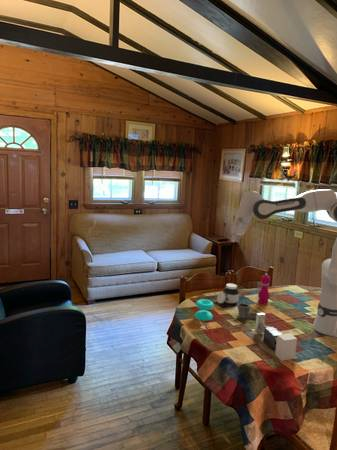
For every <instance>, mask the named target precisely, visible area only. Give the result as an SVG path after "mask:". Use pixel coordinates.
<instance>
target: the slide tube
mask: <svg viewBox="0 0 337 450" xmlns="http://www.w3.org/2000/svg"><path fill="white" fill-rule="evenodd" d="M256 313H257V315H256V319H255V325H254V331H255V332H256V333H262V332H264V329H265V328H267V327H268V326H267V325H266V323H265V321H266V313H264V312H256ZM275 342H276V343H277V337H275Z"/></svg>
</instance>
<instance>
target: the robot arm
mask: <svg viewBox="0 0 337 450" xmlns="http://www.w3.org/2000/svg"><path fill="white" fill-rule="evenodd" d="M290 211H295V212H299V213H314V212H317V211H326V212H327V215H328V216H329V218H331V219H332V220H333V221H334V222H337V194H336V192H335V191H334V190H332V189H328V188H326V189H314V190H308V191H305V192H302V193H301V192H300V194H297V195H294V196H293V197H290V198H285V199H279V200H268V199H265V198H264V197H263V196H261V194H260V192H258V191H256V190H247V191H245V192H244V193H243V195H242V197H241V199H240V202H239V207H238V209H237V210H236V213H235V215H234V222H233V224H232V227H231V229H230V234H232V235H231V239H230V242H232V243H235V242H236V243H239V241H240V239H241V237H242V236H244V235H245V234H246V232H247V230H248V227H249V225H250V224H251V222H252V218H253V216H255V217H256V218H258V219H260V220H266V219H269V218H271V217H272V216H273V215H275V214H279V213H284V212H285V213H286V212H290ZM331 249H332V252H331V258H327V259H325V260H324V261H323V262H322V263H321V275H320V276H321V280H320V282H321V283H320V284H321V286H320V289H321V290H320V297H319V302H318V304H317V312H316V316H315V320H314V321H313V324H312V328H313V329H314V331H316V332H318V333H320V334H323V335H326V336H331V337H334V338H337V237H336V238H335V241H334V242H333V246H332V248H331Z"/></svg>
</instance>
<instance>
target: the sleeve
mask: <svg viewBox="0 0 337 450" xmlns="http://www.w3.org/2000/svg"><path fill="white" fill-rule="evenodd" d="M281 334H283V332H281V331H280V330H279V329H278V328H276V327H274V326H269V327H268V326H267V328H265V329H264V338H263V342H264V343H265V344H266V345H267V346H268V347H269V348H270V349H271V350H276V342H275V337H277V335H281Z"/></svg>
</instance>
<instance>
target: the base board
mask: <svg viewBox="0 0 337 450" xmlns="http://www.w3.org/2000/svg"><path fill="white" fill-rule="evenodd" d="M245 334H247V336H248V337H250V339H251V340H252V341H254V342H255V343H256V344H257V345H258V346H259V348H261V349H262V351H264V352H265V353H266V354H267V355H269V357H271V359H273V361H275V362H283V361H284V360H282V361H281V360H280V359H279V358H278V357H277V356H276V355H275V351H276V350H271V349H270V348H269V347H268V346H267V345H266V344H265V343H264V342H263V338H264V332H262V333H256V332H255V330H253V331H252V330H251V331H250V330H249V331H245ZM296 359H300V357H299V356H298V354H296V353H295V359H294V360H296ZM289 360H291V359H289Z"/></svg>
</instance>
